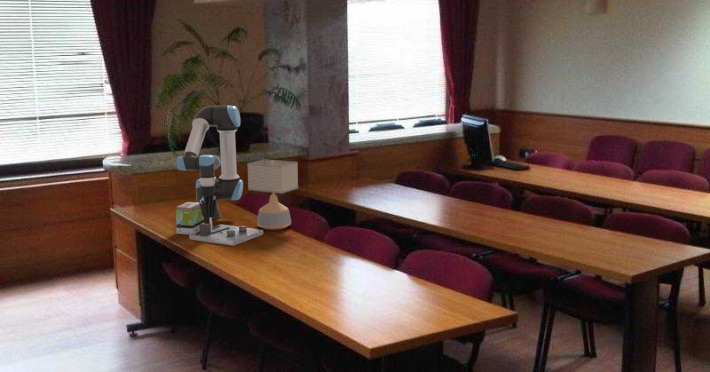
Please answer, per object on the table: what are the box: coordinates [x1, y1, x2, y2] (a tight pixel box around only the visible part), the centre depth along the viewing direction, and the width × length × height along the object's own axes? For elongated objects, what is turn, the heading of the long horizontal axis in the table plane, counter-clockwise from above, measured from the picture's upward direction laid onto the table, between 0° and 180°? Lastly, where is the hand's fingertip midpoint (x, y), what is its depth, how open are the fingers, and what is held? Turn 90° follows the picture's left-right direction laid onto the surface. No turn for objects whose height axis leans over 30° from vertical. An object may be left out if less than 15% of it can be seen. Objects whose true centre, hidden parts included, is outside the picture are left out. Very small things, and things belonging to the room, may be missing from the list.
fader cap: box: [199, 222, 211, 235], centre depth 409 cm, size 3×5×5 cm, turn 61°
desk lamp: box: [247, 158, 299, 231], centre depth 429 cm, size 22×19×37 cm
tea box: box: [175, 201, 205, 235], centre depth 424 cm, size 15×10×15 cm
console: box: [188, 223, 264, 247], centre depth 412 cm, size 26×29×5 cm
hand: (209, 229), depth 412 cm, fingers closed
